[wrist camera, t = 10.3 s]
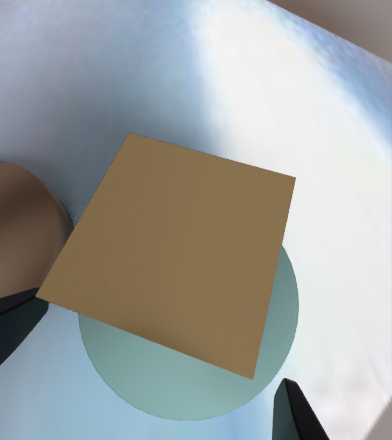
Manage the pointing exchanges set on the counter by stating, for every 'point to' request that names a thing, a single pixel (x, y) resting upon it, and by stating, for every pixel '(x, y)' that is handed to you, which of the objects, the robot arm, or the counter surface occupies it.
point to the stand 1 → (28, 230)
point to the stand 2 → (191, 362)
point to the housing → (178, 252)
